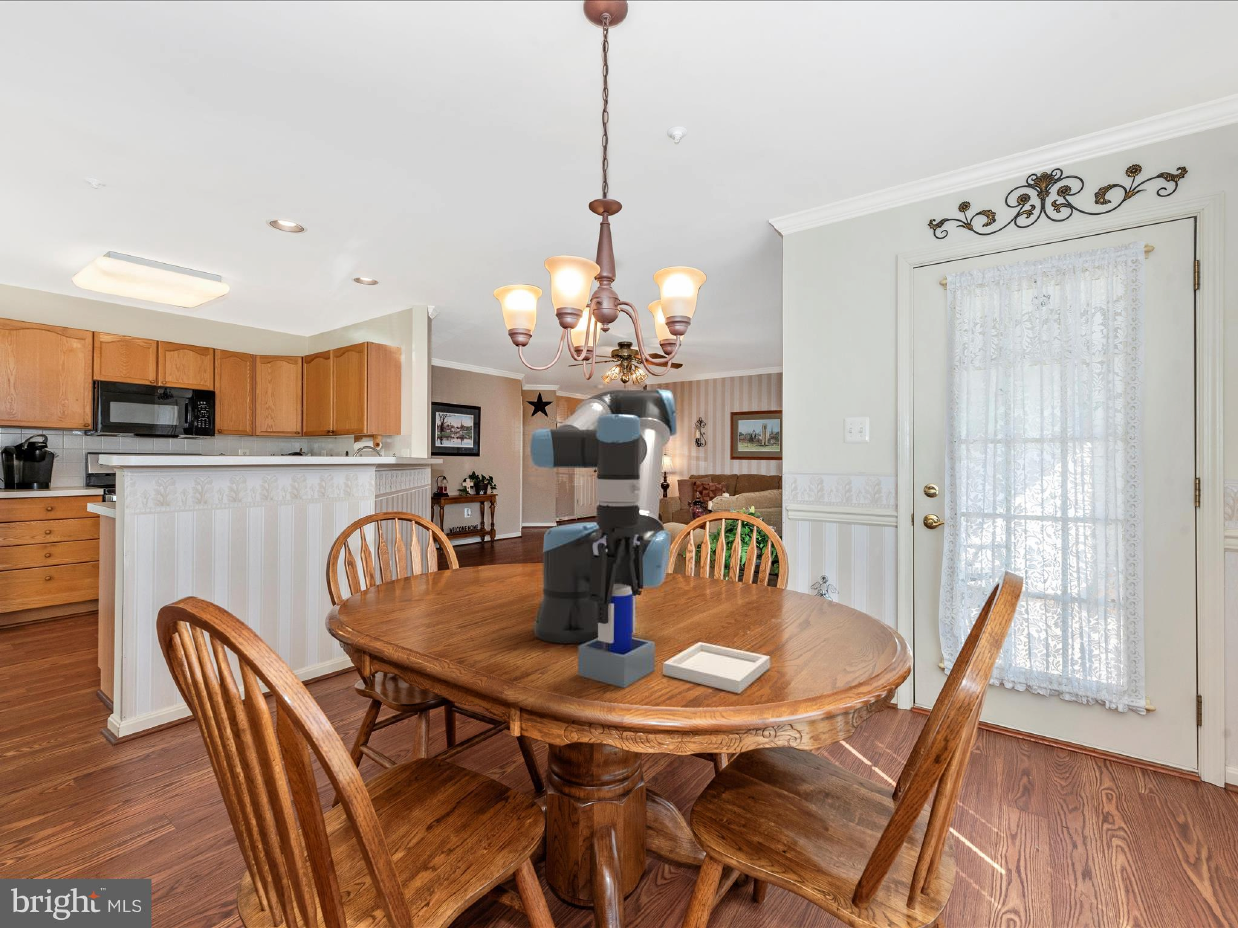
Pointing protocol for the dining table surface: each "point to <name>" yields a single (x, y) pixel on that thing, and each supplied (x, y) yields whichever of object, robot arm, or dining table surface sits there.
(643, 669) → the holder sleeve
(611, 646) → the beverage can
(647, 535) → the robot arm
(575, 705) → the dining table surface
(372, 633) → the dining table surface
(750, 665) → the tray
